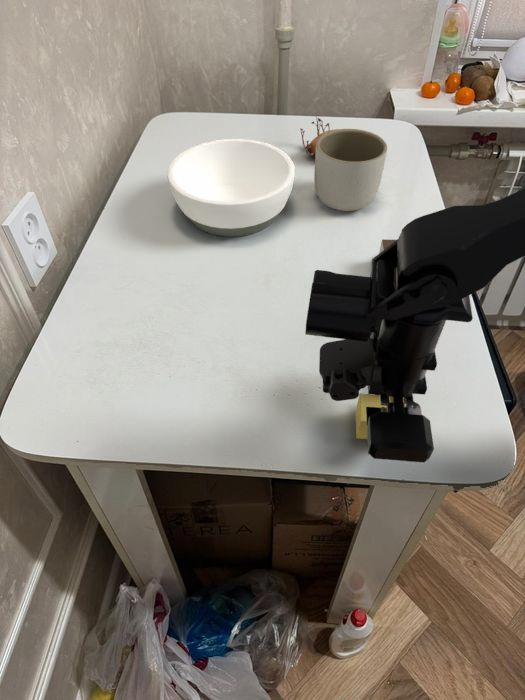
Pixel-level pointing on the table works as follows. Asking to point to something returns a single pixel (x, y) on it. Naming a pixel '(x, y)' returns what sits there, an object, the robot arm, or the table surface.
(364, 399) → the yellow block
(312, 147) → the vegetable
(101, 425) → the table surface
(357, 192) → the planter
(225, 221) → the bowl
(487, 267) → the robot arm
